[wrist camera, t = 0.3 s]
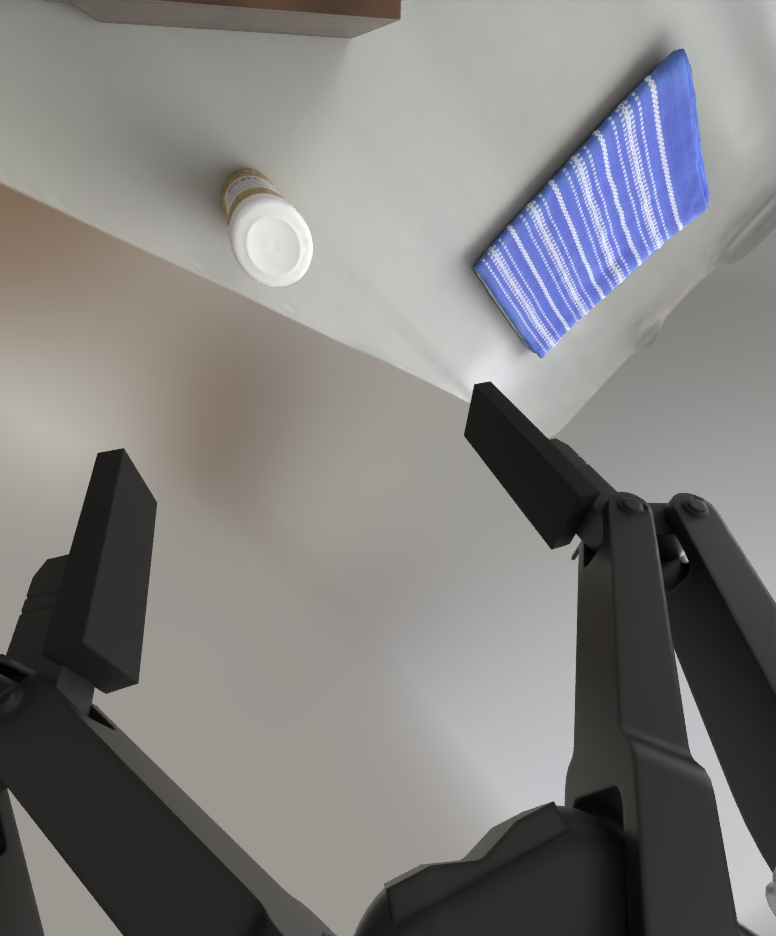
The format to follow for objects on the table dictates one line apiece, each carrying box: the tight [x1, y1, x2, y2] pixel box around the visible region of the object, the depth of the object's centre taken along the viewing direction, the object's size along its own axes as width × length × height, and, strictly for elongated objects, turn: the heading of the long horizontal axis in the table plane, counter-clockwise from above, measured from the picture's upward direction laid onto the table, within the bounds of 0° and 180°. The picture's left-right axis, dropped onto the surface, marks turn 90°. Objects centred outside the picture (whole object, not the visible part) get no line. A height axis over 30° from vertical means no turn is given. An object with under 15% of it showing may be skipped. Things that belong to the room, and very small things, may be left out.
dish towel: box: [474, 49, 710, 358], centre depth 41 cm, size 17×24×3 cm
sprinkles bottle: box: [221, 169, 313, 287], centre depth 26 cm, size 5×5×13 cm
